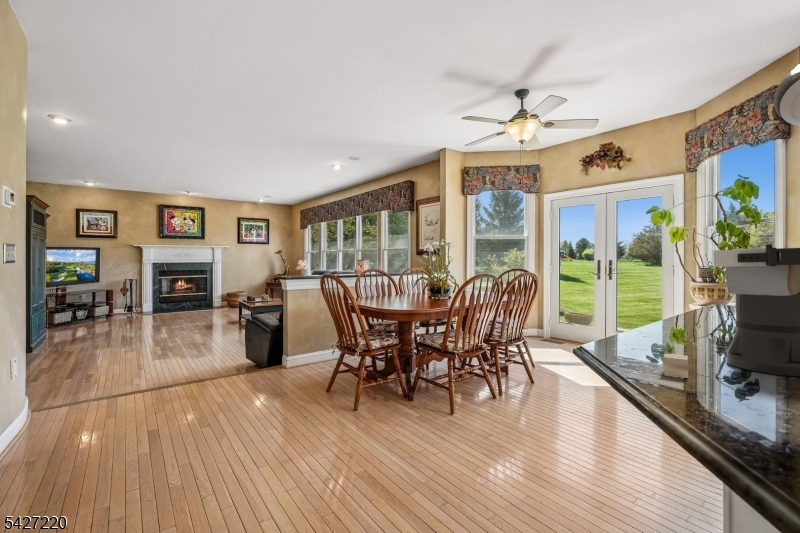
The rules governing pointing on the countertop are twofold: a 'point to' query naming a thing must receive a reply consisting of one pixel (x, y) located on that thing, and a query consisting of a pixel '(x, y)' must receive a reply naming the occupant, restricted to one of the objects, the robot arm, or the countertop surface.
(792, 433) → the countertop surface
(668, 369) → the birch block
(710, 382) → the countertop surface
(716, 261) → the robot arm
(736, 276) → the ceramic mug
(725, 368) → the countertop surface
